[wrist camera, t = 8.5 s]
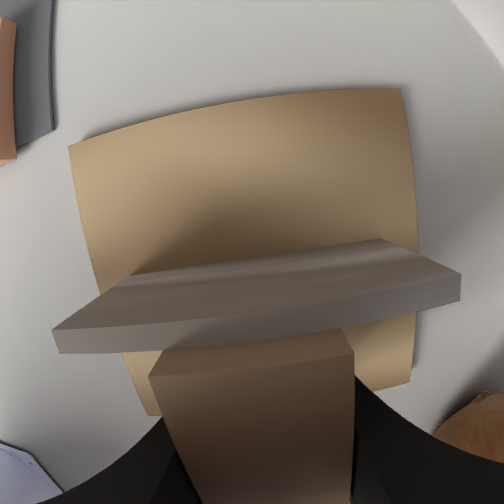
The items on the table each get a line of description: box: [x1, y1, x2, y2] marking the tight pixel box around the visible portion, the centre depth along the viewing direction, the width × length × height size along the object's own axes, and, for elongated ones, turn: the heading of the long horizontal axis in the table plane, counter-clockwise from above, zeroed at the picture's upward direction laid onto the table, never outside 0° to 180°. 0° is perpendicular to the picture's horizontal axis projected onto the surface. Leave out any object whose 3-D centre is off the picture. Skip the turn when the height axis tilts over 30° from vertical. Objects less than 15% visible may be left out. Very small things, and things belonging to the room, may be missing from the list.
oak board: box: [68, 89, 418, 416], centre depth 11 cm, size 12×12×1 cm
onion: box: [432, 390, 504, 463], centre depth 10 cm, size 10×9×10 cm
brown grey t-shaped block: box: [52, 238, 461, 504], centre depth 8 cm, size 6×9×6 cm, turn 99°
